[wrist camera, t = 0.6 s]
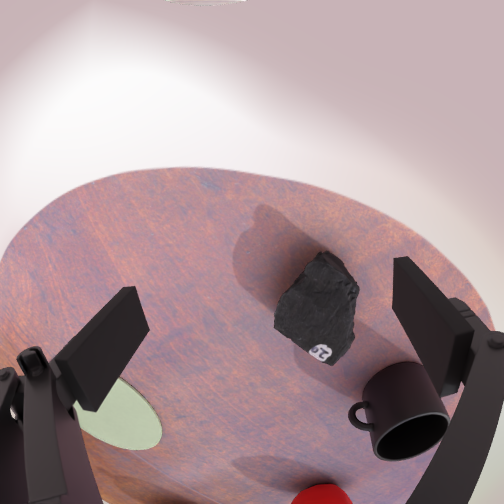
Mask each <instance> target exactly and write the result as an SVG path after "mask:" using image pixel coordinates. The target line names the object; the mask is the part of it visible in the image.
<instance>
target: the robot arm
mask: <svg viewBox="0 0 504 504" xmlns="http://www.w3.org/2000/svg"><path fill="white" fill-rule="evenodd" d="M392 309H393V311H394V312H395V314H396V316H397V318H398V319H399V321H400V323H401V325H402V327H403V328H404V330H405V332H406V334H407V336H408V337H409V339H410V341H411V343H412V345H413V347H414V349H415V350H416V352H417V354H418V356H419V358H420V360H421V362H422V364H423V366H424V368H425V370H426V372H427V374H428V376H429V378H430V380H431V382H432V384H433V386H434V388H435V390H436V392H437V394H438V396H439V398H440V397H444V396H448V395H451V394H454V393H457V392H458V389H459V386H460V383H461V381H462V383H463V384H464V386H465V387H464V390H463V393H462V395H461V398H460V400H459V403H458V405H457V408H456V410H455V412H454V415H453V417H452V419H451V422H450V424H449V426H448V428H447V430H446V433H445V435H444V437H443V439H442V441H441V443H440V445H439V447H438V449H437V451H436V453H435V455H434V457H433V458H432V460H431V462H430V464H429V466H428V468H427V469H426V471H425V473H424V475H423V476H422V478H421V480H420V482H419V483H418V485H417V486H416V488H415V490H414V491H413V493H412V495H411V496H410V498H409V499H408V501H407V502H406V504H468V502H469V500H470V498H471V496H472V493H473V491H474V489H475V486H476V484H477V481H478V479H479V477H480V474H481V472H482V469H483V467H484V464H485V461H486V458H487V456H488V453H489V450H490V447H491V443H492V441H493V437H494V434H495V431H496V428H497V424H498V420H499V417H500V413H501V409H502V405H503V401H504V333H502V332H499V331H490V330H489V329H488V328H487V326H486V325H485V324H484V323H483V322H482V321H481V320H480V319H479V317H478V316H477V315H475V313H474V312H473V311H472V310H471V309H470V308H469V307H468V306H467V304H466V303H465V302H463V301H461V300H459V299H457V298H450V299H448V298H447V297H446V296H445V295H444V294H443V293H442V292H441V291H440V290H439V289H438V287H437V286H436V285H435V284H434V283H433V282H432V281H431V280H430V279H429V278H428V277H427V276H426V275H425V273H424V272H423V271H422V270H421V269H420V268H419V267H418V266H417V265H416V264H415V263H414V262H413V261H412V260H411V259H410V258H409V257H408V256H406V257H399V258H394V269H393V301H392ZM148 332H149V327H148V324H147V321H146V318H145V315H144V312H143V309H142V306H141V303H140V300H139V297H138V294H137V290H136V287H135V286H131V287H123V288H122V289H121V290H120V291H119V292H118V293H117V294H116V295H115V296H114V297H113V298H112V299H111V300H110V301H109V302H108V303H107V304H106V305H105V306H104V307H103V308H102V309H101V310H100V311H99V312H98V313H97V314H96V315H95V316H94V317H93V318H92V319H91V320H90V321H89V322H88V323H87V324H86V325H85V326H84V328H83V329H82V330H81V331H80V332H79V333H78V334H77V335H76V336H74V337H73V338H72V339H71V340H70V341H69V342H68V344H66V345H65V347H64V348H63V349H62V350H61V351H60V352H59V353H58V354H57V355H56V356H55V357H54V358H53V359H52V361H51V362H50V363H48V361H47V359H46V357H45V355H44V353H43V351H42V349H41V348H40V347H38V346H34V347H30V348H28V349H26V350H24V351H23V352H21V353H20V354H19V355H18V356H17V359H16V360H17V362H18V364H19V366H20V367H21V369H22V371H23V373H24V374H25V376H18V375H17V373H16V371H15V369H14V368H12V367H7V368H3V369H2V370H0V504H103V501H102V498H101V496H100V493H99V490H98V487H97V484H96V481H95V478H94V475H93V472H92V469H91V466H90V462H89V459H88V455H87V452H86V448H85V444H84V441H83V437H82V433H81V428H80V424H79V420H78V415H77V411H76V409H75V408H74V406H73V405H74V403H75V402H76V400H77V401H78V403H79V405H80V406H81V408H82V409H83V410H85V411H90V412H97V411H98V409H99V408H100V406H101V404H102V403H103V401H104V400H105V398H106V396H107V395H108V393H109V392H110V390H111V389H112V387H113V385H114V384H115V382H116V381H117V379H118V378H119V376H120V375H121V373H122V371H123V370H124V368H125V367H126V365H127V364H128V362H129V361H130V359H131V358H132V356H133V355H134V353H135V352H136V350H137V349H138V347H139V345H140V344H141V342H142V341H143V339H144V338H145V336H146V335H147V333H148ZM10 408H11V409H12V411H13V412H14V413H15V415H16V416H15V419H14V418H13V417H12V415H11V412H10Z"/></svg>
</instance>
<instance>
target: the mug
mask: <svg viewBox="0 0 504 504" xmlns="http://www.w3.org/2000/svg"><path fill="white" fill-rule="evenodd" d="M362 400H363V402H358V403H356V404H354V405H353V406H352V407H351V409H350V410H349V413H348V418H349V420H350V422H351V424H352V425H353V426H355V427H356V428H358V429H360V430H364V431H369V432H370V437H371V442H372V447H373V452H374V454H375V455H376V456H377V457H378V458H379V459H381V460H384V461H401V460H406V459H410V458H413V457H416V456H418V455H420V454H422V453H424V452H426V451H428V450H430V449H431V448H433V447H434V446H435V445H436V444H438V443H439V442H440V441H441V440H442V439H443V437H444V435H445V433H446V430H447V428H448V426H449V424H450V418H449V415H448V413H447V411H446V409H445V406H444V404H443V402H442V400H441V398H439V396H438V394H437V392H436V390H435V388H434V386H433V384H432V382H431V380H430V378H429V376H428V374H427V372H426V370H425V368H424V367H423V366H421V365H419V364H417V363H412V362H404V363H398V364H395V365H392V366H389V367H387V368H385V369H383V370H382V371H380V372H379V373H377V374H376V375H375V376H374V377H373V378H372V379H371V380H370V381H369V382H368V384H367V385H366V387H365V389H364V392H363V397H362ZM361 408H363V409H365V413H366V418H367V422H368V424H367V423H363V422H361V421H359V420H358V419H357V417H356V414H355V413H356V411H357V410H358V409H361Z"/></svg>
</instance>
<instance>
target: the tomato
mask: <svg viewBox="0 0 504 504" xmlns="http://www.w3.org/2000/svg"><path fill="white" fill-rule="evenodd" d="M291 504H352V501H351V500H350V498H349V497H348V496H347V494H346V493H345V492H344V491H343V490H342V489H341V488H339V487H338V486H337V485H334V484H321V485H315V486H312V487H310V488H308V489H305V490H303V491H301V492H300V493H299V494H298V495H297V496H296V497H295V498H294V500H293V501H292V503H291Z"/></svg>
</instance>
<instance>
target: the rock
mask: <svg viewBox="0 0 504 504" xmlns="http://www.w3.org/2000/svg"><path fill="white" fill-rule="evenodd" d="M358 294H359V286H358V285H357V282H355V280H354V278H353V277H352V276H351V275H350V274H349V272H348V271H347V269H346V267H345V266H344V263H343V262H342V261H341V260H340V259H339V258H338V257H336V256H335V255H333V254H331V253H330V252H329V251H325V252H324V253H322V252H319V253H318V254H317V256H316V257H315V258H314V259H313V260H312V261H311V262H309V263H308V264H307V265H306V267H305V271H304V272H302V273H301V274H300V276H299V277H298V278H297V279H296V280H295V282H294V284H293V285H292V286H291V287H290V288H289V289H288V290H287V291H286V292H285V293H284V294H283V295H282V296H281V298H280V300H279V302H278V304H277V309H276V311H275V313H274V317H275V320H274V328H275V329H276V330H278V331H279V332H280V333H282V334H283V335H284V336H286V337H287V338H291V340H292V341H293V342H294V343H296V344H297V345H298V346H300V347H301V348H302V349H303V350H305V351H306V352H308V353H309V354H310V355H312V356H313V357H315V358H316V359H318V360H319V361H321V362H323V363H326V364H329V365H330V366H333V365H334V364H335V363H336V362H337V361H338V360H339V359H340V358H341V357H342V356H343V355H344V354H345V353H346V352H347V351H348V349H349V348H350V346H351V344H352V342H353V341H354V338H355V335H354V333H353V327H354V322H353V319H354V315H355V307H356V298H357V296H358Z"/></svg>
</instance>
